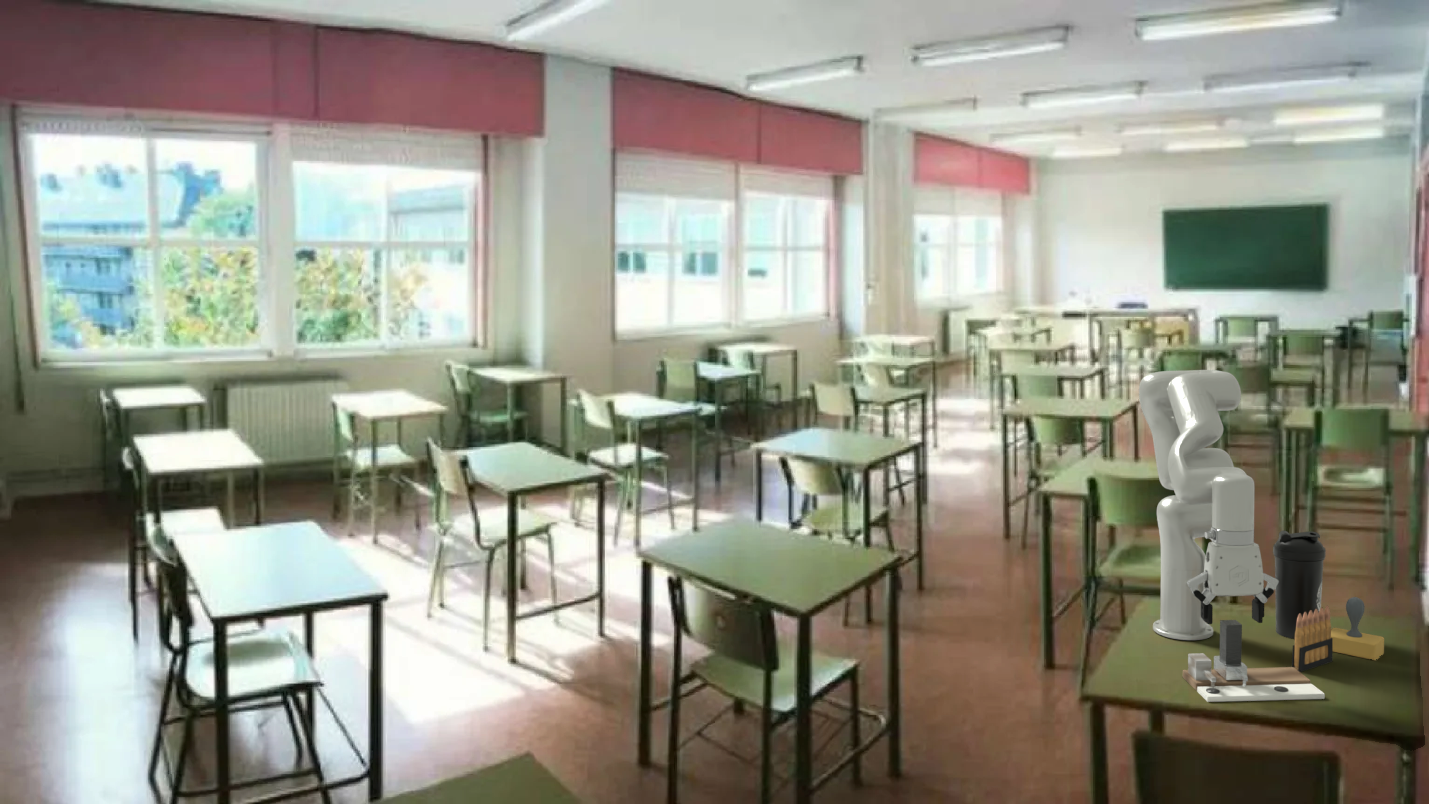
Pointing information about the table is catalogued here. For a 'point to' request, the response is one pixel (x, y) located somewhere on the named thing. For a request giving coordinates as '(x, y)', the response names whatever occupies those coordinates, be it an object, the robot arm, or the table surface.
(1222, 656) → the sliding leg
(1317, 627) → the ammunition clip
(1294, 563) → the water bottle
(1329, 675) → the table surface
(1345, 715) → the table surface
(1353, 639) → the rubber stamp
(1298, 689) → the hole plate
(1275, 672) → the divider base
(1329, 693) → the table surface
